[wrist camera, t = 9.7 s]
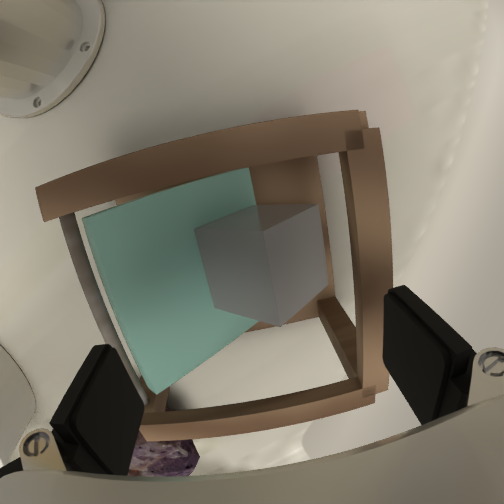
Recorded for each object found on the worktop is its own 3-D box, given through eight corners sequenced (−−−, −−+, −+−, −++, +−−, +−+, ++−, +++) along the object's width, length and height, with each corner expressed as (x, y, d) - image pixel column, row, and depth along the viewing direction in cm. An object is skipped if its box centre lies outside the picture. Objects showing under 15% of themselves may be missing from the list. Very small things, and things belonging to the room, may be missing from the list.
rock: (179, 438, 31) (206, 385, 28) (184, 500, 24) (217, 458, 21) (80, 414, 27) (87, 354, 25) (68, 477, 20) (67, 427, 17)
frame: (111, 171, 21) (23, 192, 10) (309, 126, 21) (375, 108, 10) (164, 341, 25) (135, 441, 15) (334, 308, 25) (386, 398, 15)
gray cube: (193, 228, 17) (262, 231, 14) (252, 205, 21) (318, 203, 17) (214, 307, 19) (280, 326, 16) (265, 274, 22) (328, 284, 19)
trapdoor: (81, 218, 14) (87, 217, 13) (237, 168, 21) (248, 167, 20) (148, 387, 17) (156, 394, 16) (265, 305, 24) (276, 307, 23)
